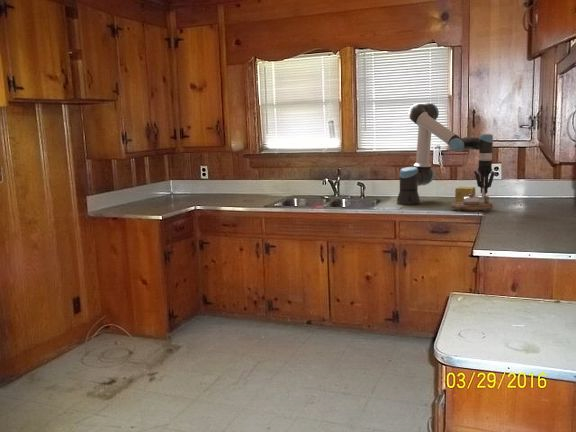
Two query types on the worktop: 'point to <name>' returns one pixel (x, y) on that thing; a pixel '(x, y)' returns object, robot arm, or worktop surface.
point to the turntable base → (471, 210)
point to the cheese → (463, 193)
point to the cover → (471, 200)
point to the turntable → (481, 206)
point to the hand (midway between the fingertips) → (483, 198)
